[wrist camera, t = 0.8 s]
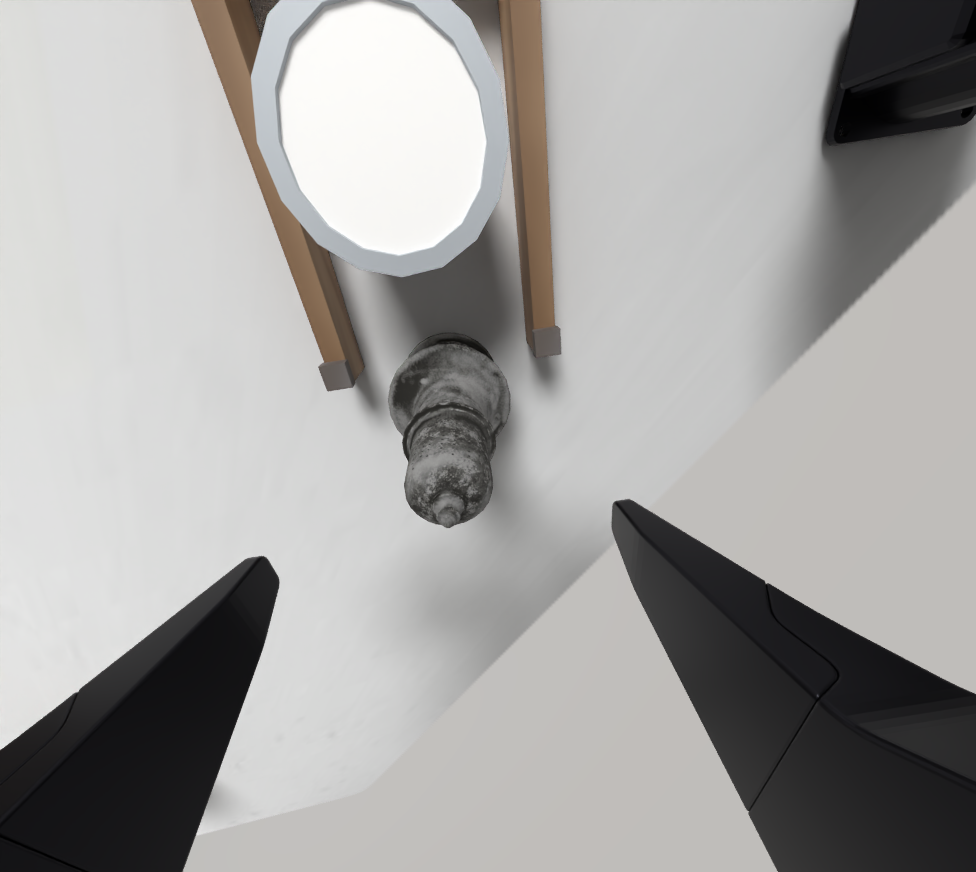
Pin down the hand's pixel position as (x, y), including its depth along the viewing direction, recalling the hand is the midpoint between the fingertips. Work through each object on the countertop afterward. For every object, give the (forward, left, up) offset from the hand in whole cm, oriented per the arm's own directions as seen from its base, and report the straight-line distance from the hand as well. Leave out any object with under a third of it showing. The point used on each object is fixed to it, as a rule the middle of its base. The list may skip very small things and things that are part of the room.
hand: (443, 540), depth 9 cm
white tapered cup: (0, -9, -13) cm, 16 cm away
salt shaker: (0, 0, -13) cm, 13 cm away
